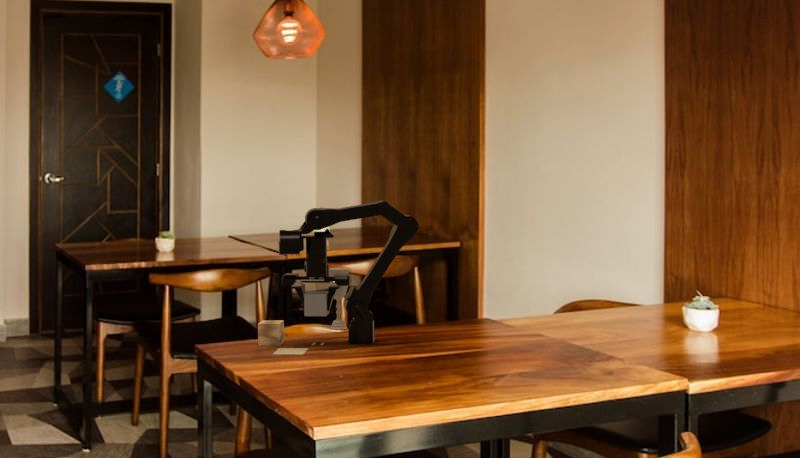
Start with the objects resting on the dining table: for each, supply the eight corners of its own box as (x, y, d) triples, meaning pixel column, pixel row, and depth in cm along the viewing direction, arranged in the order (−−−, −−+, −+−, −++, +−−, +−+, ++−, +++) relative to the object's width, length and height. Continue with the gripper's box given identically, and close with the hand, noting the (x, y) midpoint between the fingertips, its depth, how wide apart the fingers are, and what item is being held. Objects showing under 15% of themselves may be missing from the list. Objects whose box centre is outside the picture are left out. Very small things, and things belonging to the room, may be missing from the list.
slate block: (329, 312, 280) (329, 291, 280) (326, 316, 274) (326, 294, 274) (308, 312, 281) (307, 291, 280) (304, 316, 275) (304, 294, 274)
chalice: (352, 326, 308) (351, 267, 306) (349, 330, 301) (348, 270, 300) (328, 326, 308) (327, 267, 307) (324, 329, 302) (323, 270, 300)
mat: (308, 349, 271) (308, 348, 271) (303, 355, 263) (303, 354, 263) (278, 349, 272) (278, 348, 272) (272, 355, 264) (272, 353, 264)
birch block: (284, 341, 282) (283, 320, 281) (280, 345, 276) (279, 323, 275) (263, 341, 282) (262, 320, 282) (258, 345, 276) (257, 323, 276)
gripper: (353, 251, 283) (354, 306, 285) (288, 251, 285) (289, 306, 286) (348, 255, 272) (349, 312, 274) (280, 255, 274) (281, 312, 275)
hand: (317, 310), depth 277 cm, fingers closed on slate block, 6 cm apart
